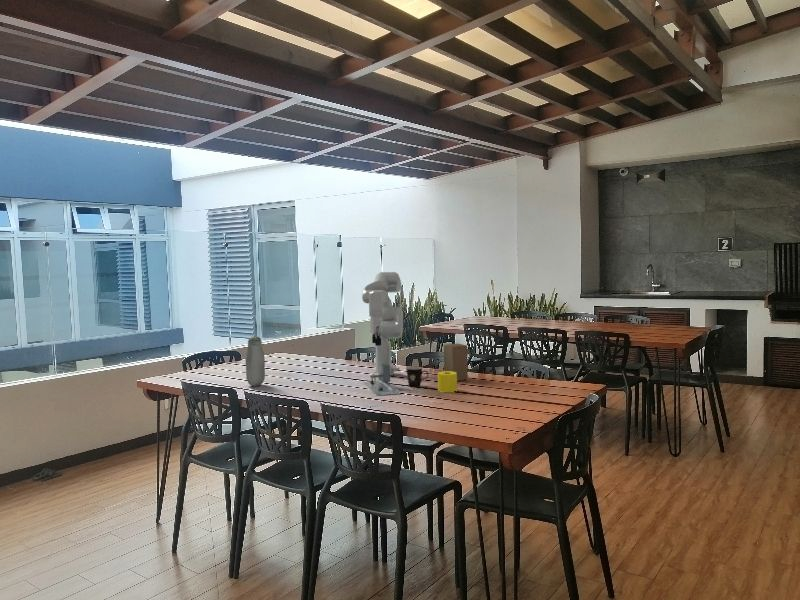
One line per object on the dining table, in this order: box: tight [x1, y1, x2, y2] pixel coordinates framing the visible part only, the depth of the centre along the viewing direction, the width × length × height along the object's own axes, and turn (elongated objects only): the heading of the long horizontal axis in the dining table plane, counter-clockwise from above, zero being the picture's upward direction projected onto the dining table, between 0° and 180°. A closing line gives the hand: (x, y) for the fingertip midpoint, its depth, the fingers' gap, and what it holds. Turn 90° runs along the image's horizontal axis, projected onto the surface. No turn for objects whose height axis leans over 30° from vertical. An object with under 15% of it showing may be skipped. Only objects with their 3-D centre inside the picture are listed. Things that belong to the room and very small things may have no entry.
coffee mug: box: [406, 366, 429, 388], centre depth 333 cm, size 12×9×10 cm
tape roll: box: [437, 370, 458, 393], centre depth 321 cm, size 10×10×9 cm
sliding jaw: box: [373, 364, 391, 383], centre depth 331 cm, size 9×5×9 cm, turn 106°
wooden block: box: [443, 343, 469, 381], centre depth 350 cm, size 10×10×20 cm
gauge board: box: [363, 374, 400, 397], centre depth 329 cm, size 12×30×6 cm, turn 16°
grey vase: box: [245, 335, 266, 387], centre depth 343 cm, size 10×10×28 cm
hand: (376, 344), depth 337 cm, fingers open, 9 cm apart
